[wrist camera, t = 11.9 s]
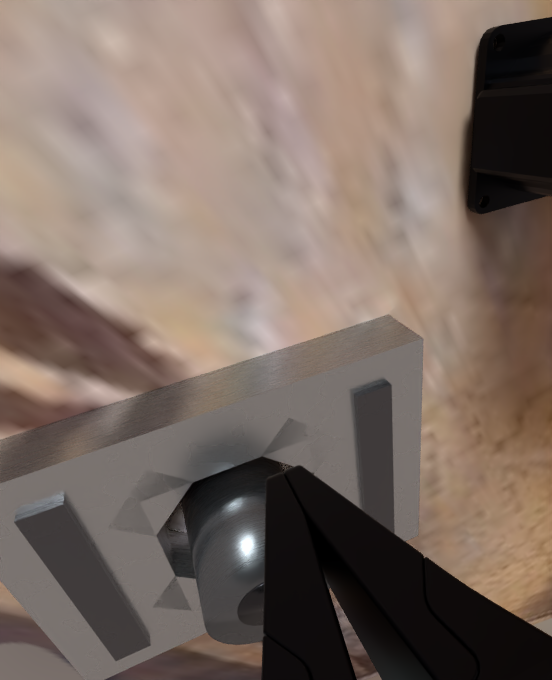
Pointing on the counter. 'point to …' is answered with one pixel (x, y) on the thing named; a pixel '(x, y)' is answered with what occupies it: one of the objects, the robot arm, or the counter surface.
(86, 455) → the jig
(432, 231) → the counter surface
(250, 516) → the bushing
